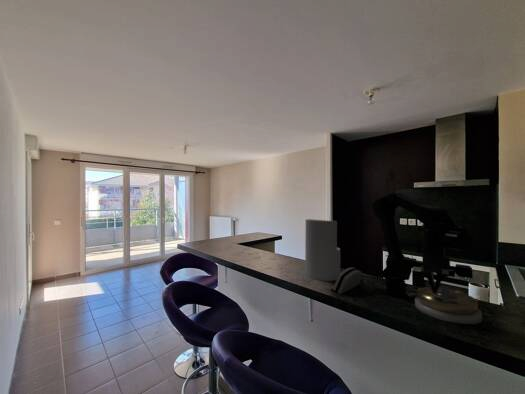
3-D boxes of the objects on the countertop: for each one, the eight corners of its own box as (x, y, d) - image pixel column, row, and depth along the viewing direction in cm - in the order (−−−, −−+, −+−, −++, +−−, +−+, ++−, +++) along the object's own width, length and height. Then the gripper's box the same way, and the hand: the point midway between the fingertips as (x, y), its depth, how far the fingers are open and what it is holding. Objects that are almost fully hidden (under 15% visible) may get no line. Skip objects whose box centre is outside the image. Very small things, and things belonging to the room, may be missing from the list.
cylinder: (325, 283, 109) (325, 221, 110) (298, 273, 123) (298, 219, 124) (347, 276, 119) (347, 220, 120) (320, 268, 133) (320, 218, 134)
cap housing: (417, 296, 94) (417, 291, 94) (479, 309, 82) (479, 303, 83) (411, 312, 80) (411, 306, 80) (485, 330, 68) (485, 323, 68)
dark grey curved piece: (348, 282, 111) (355, 263, 108) (357, 288, 107) (365, 268, 105) (329, 290, 99) (336, 269, 97) (338, 297, 96) (346, 276, 94)
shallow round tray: (420, 292, 92) (420, 273, 93) (475, 303, 82) (475, 282, 83) (415, 305, 80) (415, 284, 80) (480, 320, 70) (479, 296, 70)
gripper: (397, 245, 79) (397, 292, 78) (472, 252, 66) (473, 309, 66) (403, 241, 87) (404, 284, 86) (471, 247, 75) (472, 298, 74)
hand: (434, 293), depth 78 cm, fingers closed
